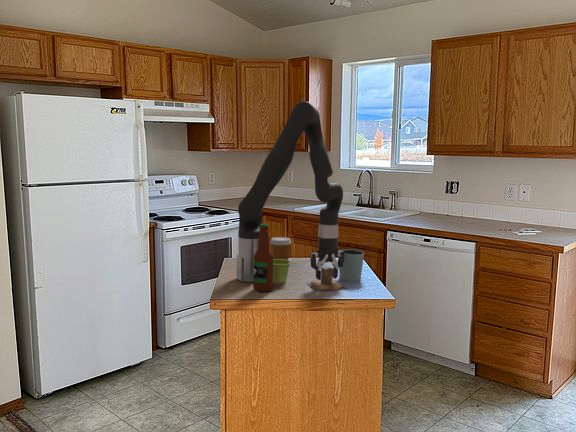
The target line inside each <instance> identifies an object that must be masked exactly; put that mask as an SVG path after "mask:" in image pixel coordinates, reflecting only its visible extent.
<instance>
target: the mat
mask: <svg viewBox="0 0 576 432" xmlns="http://www.w3.org/2000/svg"><path fill="white" fill-rule="evenodd" d="M306 285H307V286H308V287H310V288H312V287H311V282H310V283H309V282H307V283H306ZM312 289H313V290H315V291H317V292H318V293H323V292H324V293H326V292H327V291H323V290H317V289H314V288H312ZM344 290H348V288H347V287H344V286H343V285H342V288H341V289H339V290H338V291H344ZM335 291H337V290H334V292H335Z"/></svg>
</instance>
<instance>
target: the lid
mask: <svg viewBox="0 0 576 432" xmlns="http://www.w3.org/2000/svg"><path fill="white" fill-rule="evenodd" d="M332 275H333V267H330V266H325V267H323V266H322V268H321V280H318V279H314V280H312V281H311V282H310V283H311V287H310V288H311V289H313V288H314V289H313V290H315V289H317V290H323V291H326V292H333V291H334V290H336V291H340V290H339V289H341V288H342V286H343V283H342V282H341V281H339V280H335V279H333V277H332ZM334 292H335V291H334Z"/></svg>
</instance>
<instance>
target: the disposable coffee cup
mask: <svg viewBox="0 0 576 432" xmlns="http://www.w3.org/2000/svg"><path fill="white" fill-rule="evenodd" d="M269 242H270V246H271V253H272V254H273V259H285V260H289V256H290V250H291V249H290V248H291V244H292V241H291V238H290V237H285V236H274V237H272V238H271V240H269Z"/></svg>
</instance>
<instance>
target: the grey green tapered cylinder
mask: <svg viewBox="0 0 576 432" xmlns="http://www.w3.org/2000/svg"><path fill="white" fill-rule="evenodd" d="M338 251H343V252H345V256H344V263H343V267H340V268H339V269H338V276H339V277H338V278H339V280H340V281H343V282H346V283H349V282H350V283H353V282H354V283H356V282H361V279H362V272H363V271H362V270H363V264H364V257H365V252H364V251H363V250H360V249H356V248H355V249H352V248H346V249H344V248H343V249H340V250H338Z"/></svg>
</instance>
